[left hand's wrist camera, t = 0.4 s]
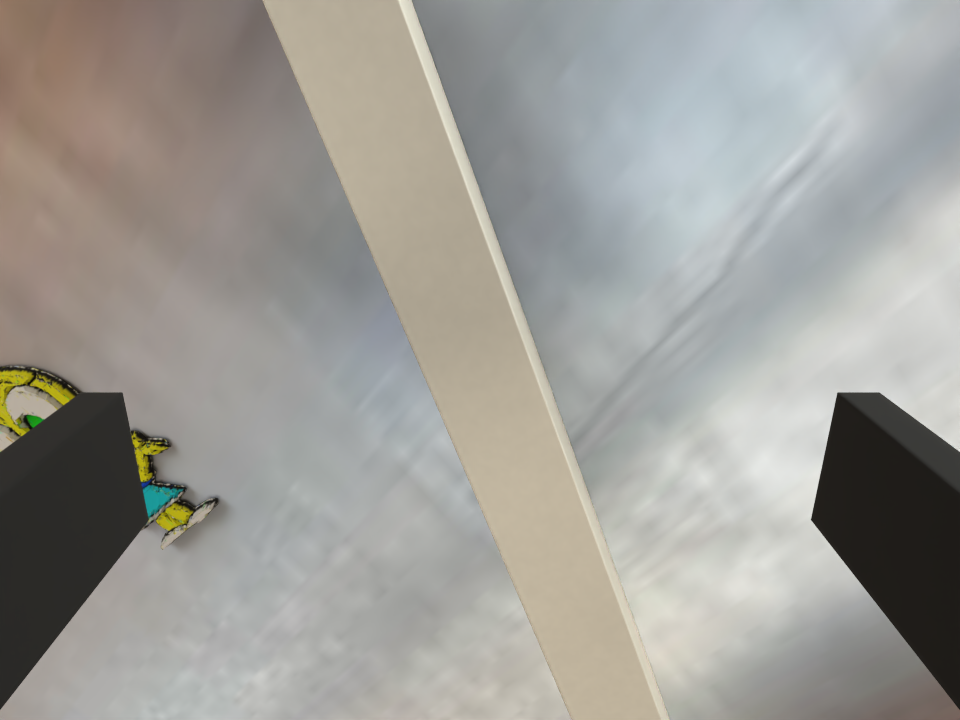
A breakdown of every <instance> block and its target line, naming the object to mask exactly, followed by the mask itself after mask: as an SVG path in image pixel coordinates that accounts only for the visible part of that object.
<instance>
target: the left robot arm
mask: <svg viewBox="0 0 960 720" xmlns="http://www.w3.org/2000/svg"><path fill="white" fill-rule="evenodd" d="M148 520H149V518H148V513H147V508H146V503H145V499H144V494H143V489H142V484H141V479H140V475H139V470H138V465H137V460H136V455H135V451H134V446H133V441H132V436H131V431H130V427H129V422H128V417H127V412H126V407H125V403H124V398H123V393H79V394H78V395H77V396H75V397H74V398H73V399H71V400H70V401H69V402H67V403H66V404H65V405H63V406H62V407H61V408H59V409H58V410H57V411H55V412H54V413H52V414H51V415H50V416H48V417H47V418H46V419H44V420H43V421H42V422H40V423H39V424H38V425H36V426H35V427H34V428H32V429H31V430H29V431H28V432H27V433H25V434H24V435H23V436H21V437H20V438H19V439H17V440H16V441H15V442H13V443H12V444H11V445H9V446H8V447H6V448H5V449H4V450H2V451H1V452H0V709H1V708H2V707H3V706H4V704H5V703H6V702H7V700H8V699H9V698H10V697H11V695H12V694H13V693H14V692H15V690H16V689H17V688H18V686H19V685H20V684H21V683H22V681H23V680H24V679H25V677H26V676H27V675H28V674H29V672H30V671H31V670H32V669H33V667H34V666H35V665H36V663H37V662H38V661H39V660H40V658H41V657H42V656H43V654H44V653H45V652H46V651H47V649H48V648H49V647H50V646H51V644H52V643H53V642H54V640H55V639H56V638H57V637H58V635H59V634H60V633H61V632H62V630H63V629H64V628H65V626H66V625H67V624H68V623H69V621H70V620H71V619H72V617H73V616H74V615H75V614H76V612H77V611H78V610H79V609H80V607H81V606H82V605H83V603H84V602H85V601H86V600H87V598H88V597H89V596H90V594H91V593H92V592H93V591H94V589H95V588H96V587H97V586H98V584H99V583H100V582H101V580H102V579H103V578H104V577H105V575H106V574H107V573H108V571H109V570H110V569H111V568H112V566H113V565H114V564H115V563H116V561H117V560H118V559H119V557H120V556H121V555H122V554H123V552H124V551H125V550H126V549H127V547H128V546H129V545H130V543H131V542H132V541H133V540H134V538H135V537H136V536H137V534H138V533H139V532H140V531H141V529H142V528H143V527H144V526H145V524H146V523H147V522H148ZM811 520H812V522H813V523H814V524H815V526H816V527H817V528H818V529H819V531H820V532H821V533H822V534H823V536H824V537H825V538H826V540H827V541H828V542H829V543H830V545H831V546H832V547H833V549H834V550H835V551H836V552H837V554H838V555H839V556H840V557H841V559H842V560H843V561H844V563H845V564H846V565H847V566H848V568H849V569H850V570H851V572H852V573H853V574H854V575H855V577H856V578H857V579H858V580H859V582H860V583H861V584H862V586H863V587H864V588H865V589H866V591H867V592H868V593H869V594H870V596H871V597H872V598H873V600H874V601H875V602H876V603H877V605H878V606H879V607H880V609H881V610H882V611H883V612H884V614H885V615H886V616H887V617H888V619H889V620H890V621H891V623H892V624H893V625H894V626H895V628H896V629H897V630H898V632H899V633H900V634H901V635H902V637H903V638H904V639H905V640H906V642H907V643H908V644H909V646H910V647H911V648H912V649H913V651H914V652H915V653H916V654H917V656H918V657H919V658H920V660H921V661H922V662H923V663H924V665H925V666H926V667H927V669H928V670H929V671H930V672H931V674H932V675H933V676H934V677H935V679H936V680H937V681H938V683H939V684H940V685H941V686H942V688H943V689H944V690H945V692H946V693H947V694H948V695H949V697H950V698H951V699H952V700H953V702H954V703H955V704H956V706H957V707H958V708H959V709H960V452H959V451H958V450H956V449H955V448H954V447H952V446H951V445H949V444H948V443H947V442H945V441H944V440H943V439H941V438H940V437H939V436H937V435H936V434H935V433H933V432H932V431H931V430H929V429H928V428H926V427H925V426H924V425H922V424H921V423H920V422H918V421H917V420H916V419H914V418H913V417H912V416H910V415H909V414H908V413H906V412H905V411H903V410H902V409H901V408H899V407H898V406H897V405H895V404H894V403H893V402H891V401H890V400H889V399H887V398H886V397H885V396H883V395H882V394H881V393H837V398H836V403H835V407H834V412H833V417H832V422H831V427H830V431H829V436H828V441H827V446H826V451H825V455H824V460H823V465H822V470H821V475H820V479H819V484H818V489H817V494H816V499H815V503H814V508H813V513H812V518H811Z"/></svg>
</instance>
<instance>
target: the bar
mask: <svg viewBox="0 0 960 720" xmlns="http://www.w3.org/2000/svg"><path fill="white" fill-rule="evenodd" d="M262 1H263V3H264V5H265V8H266V10H267V12H268V15H269V17H270V19H271V22H272V24H273V26H274V29H275V31H276V33H277V36H278V38H279V40H280V43H281V45H282V47H283V50H284V52H285V54H286V57H287V59H288V61H289V64H290V66H291V68H292V70H293V73H294V75H295V77H296V80H297V82H298V84H299V87H300V89H301V91H302V94H303V96H304V98H305V101H306V103H307V105H308V108H309V110H310V112H311V115H312V117H313V119H314V122H315V124H316V126H317V129H318V131H319V133H320V136H321V138H322V140H323V143H324V145H325V147H326V149H327V152H328V154H329V156H330V159H331V161H332V163H333V166H334V168H335V170H336V173H337V175H338V177H339V180H340V182H341V184H342V187H343V189H344V191H345V194H346V196H347V198H348V201H349V203H350V205H351V208H352V210H353V212H354V215H355V217H356V219H357V222H358V224H359V226H360V229H361V231H362V233H363V235H364V238H365V240H366V242H367V245H368V247H369V249H370V252H371V254H372V256H373V259H374V261H375V263H376V266H377V268H378V270H379V273H380V275H381V277H382V280H383V282H384V284H385V287H386V289H387V291H388V294H389V296H390V298H391V301H392V303H393V305H394V308H395V310H396V312H397V314H398V317H399V319H400V321H401V324H402V326H403V328H404V331H405V333H406V335H407V338H408V340H409V342H410V345H411V347H412V349H413V352H414V354H415V356H416V359H417V361H418V363H419V366H420V368H421V370H422V373H423V375H424V377H425V380H426V382H427V384H428V387H429V389H430V391H431V394H432V396H433V398H434V400H435V403H436V405H437V407H438V410H439V412H440V414H441V417H442V419H443V421H444V424H445V426H446V428H447V431H448V433H449V435H450V438H451V440H452V442H453V445H454V447H455V449H456V452H457V454H458V456H459V459H460V461H461V463H462V466H463V468H464V470H465V473H466V475H467V477H468V479H469V482H470V484H471V486H472V489H473V491H474V493H475V496H476V498H477V500H478V503H479V505H480V507H481V510H482V512H483V514H484V517H485V519H486V521H487V524H488V526H489V528H490V531H491V533H492V535H493V538H494V540H495V542H496V545H497V547H498V549H499V552H500V554H501V556H502V559H503V561H504V563H505V565H506V568H507V570H508V572H509V575H510V577H511V579H512V582H513V584H514V586H515V589H516V591H517V593H518V596H519V598H520V600H521V603H522V605H523V607H524V610H525V612H526V614H527V617H528V619H529V621H530V624H531V626H532V628H533V631H534V633H535V635H536V638H537V640H538V642H539V644H540V647H541V649H542V651H543V654H544V656H545V658H546V661H547V663H548V665H549V668H550V670H551V672H552V675H553V677H554V679H555V682H556V684H557V686H558V689H559V691H560V693H561V696H562V698H563V700H564V703H565V705H566V707H567V710H568V712H569V714H570V717H571V719H572V720H670V719H669V716H668V713H667V711H666V708H665V705H664V702H663V700H662V697H661V694H660V691H659V688H658V686H657V683H656V680H655V677H654V674H653V672H652V669H651V666H650V663H649V661H648V658H647V655H646V652H645V649H644V647H643V644H642V641H641V638H640V635H639V633H638V630H637V627H636V624H635V622H634V619H633V616H632V613H631V610H630V608H629V605H628V602H627V599H626V596H625V594H624V591H623V588H622V585H621V583H620V580H619V577H618V574H617V571H616V569H615V566H614V563H613V560H612V557H611V555H610V552H609V549H608V546H607V544H606V541H605V538H604V535H603V532H602V530H601V527H600V524H599V521H598V518H597V516H596V513H595V510H594V507H593V505H592V502H591V499H590V496H589V493H588V491H587V488H586V485H585V482H584V479H583V477H582V474H581V471H580V468H579V466H578V463H577V460H576V457H575V454H574V452H573V449H572V446H571V443H570V440H569V438H568V435H567V432H566V429H565V427H564V424H563V421H562V418H561V415H560V413H559V410H558V407H557V404H556V401H555V399H554V396H553V393H552V390H551V388H550V385H549V382H548V379H547V376H546V374H545V371H544V368H543V365H542V362H541V360H540V357H539V354H538V351H537V349H536V346H535V343H534V340H533V337H532V335H531V332H530V329H529V326H528V323H527V321H526V318H525V315H524V312H523V310H522V307H521V304H520V301H519V298H518V296H517V293H516V290H515V287H514V284H513V282H512V279H511V276H510V273H509V271H508V268H507V265H506V262H505V259H504V257H503V254H502V251H501V248H500V245H499V243H498V240H497V237H496V234H495V232H494V229H493V226H492V223H491V220H490V218H489V215H488V212H487V209H486V206H485V204H484V201H483V198H482V195H481V193H480V190H479V187H478V184H477V181H476V179H475V176H474V173H473V170H472V167H471V165H470V162H469V159H468V156H467V154H466V151H465V148H464V145H463V142H462V140H461V137H460V134H459V131H458V128H457V126H456V123H455V120H454V117H453V115H452V112H451V109H450V106H449V103H448V101H447V98H446V95H445V92H444V89H443V87H442V84H441V81H440V78H439V76H438V73H437V70H436V67H435V64H434V62H433V59H432V56H431V53H430V50H429V48H428V45H427V42H426V39H425V37H424V34H423V31H422V28H421V25H420V23H419V20H418V17H417V14H416V11H415V9H414V6H413V3H412V0H262Z"/></svg>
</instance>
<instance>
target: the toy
mask: <svg viewBox="0 0 960 720" xmlns="http://www.w3.org/2000/svg"><path fill="white" fill-rule="evenodd" d="M4 375H5V376H4ZM9 376H10V377H11V378H10V377H9ZM12 376H13V378H12ZM22 377H23V378H24V379H23V378H22ZM7 378H8V379H9V381H8V379H7ZM3 380H4V381H3ZM18 381H19V382H18ZM39 381H41V382H39ZM14 382H15V384H14ZM21 383H22V384H23V385H22V384H21ZM7 386H8V387H7ZM6 387H7V388H6ZM5 388H6V389H5ZM55 388H57V390H58V391H57V390H56V389H55ZM18 390H19V391H18ZM16 391H18V392H16ZM21 391H22V392H24V393H22V392H21ZM4 392H5V393H4ZM19 392H20V393H21V394H20V393H19ZM60 392H61V393H60ZM25 393H26V394H25ZM30 393H31V395H32V396H31V395H30ZM62 394H63V395H64V396H63V395H62ZM78 394H79V393H78V392H77V391H75V390H74V389H73V388H72V387H71V386H70V385H68V384H67V383H65V382H64V381H62V380H61V379H59V378H57V377H55V376H54V375H51V374H49V373H47V372H44V371H41V370H38V369H35V368H32V367H28V368H27V367H23V366H21V367H19V366H14V367H12V366H6V367H0V397H1V398H0V452H1V451H2V450H4V449H5V448H6V447H8V446H9V445H11V444H12V443H13V442H15V441H16V440H17V439H19V438H20V437H21V436H23V435H24V434H25V433H27V432H28V431H29V430H31V429H32V428H34V427H35V426H36V425H38V424H39V423H40V422H42V421H43V420H44V419H46V418H47V417H48V416H50V415H51V414H52V413H54V412H55V411H57V410H58V409H59V408H61V407H62V406H63V405H65V404H66V403H67V402H69V400H71V399H73V398H74V397H75V396H77V395H78ZM35 395H36V396H37V397H38V396H39V397H38V398H37V397H36V396H35ZM2 396H3V397H2ZM50 403H51V404H50ZM6 410H7V411H6ZM22 413H23V415H21V414H22ZM31 415H32V416H31ZM3 422H4V423H3ZM13 423H15V424H16V425H15V424H13ZM17 426H18V427H19V428H21V429H19V428H18V427H17ZM7 435H8V436H9V437H8V436H7ZM131 436H132V441H133V446H134V448H135V455H136V460H137V464H138V470H139V475H140V479H141V484H142V489H143V494H144V499H145V503H146V508H147V513H148V518H149V520H148V522H147V523H146V524H145V526H144V527H143V528H142V529H141V530H143V529H145V528H146V527H148V526H149V524H150V523H152V522H153V521H154V519H156V522H157V523H158V524H159V525H160V526H161V527H162V528H165V530H167V531H168V532H166V533H165V535H164V537H163V539H162V543H161V549H162V550H163V549H164V548H166V547H167V546H169V545H170V544H171V543H172V542H173V541H174V540H176V539H177V538H178V537H179V536H180V535H181V534H183V533H184V532H185V531H186V530H187V529H188V528H190V527H191V526H193V525H195V524H196V523H199V521H202V520H203V519H204V517H205V516H207V515H208V514H209V513H210V512H211V510H212V509H213V508H215V507H216V506H217V505H218V504H219V502H218V499H217V498H214V499H212V498H211V499H208V500H206V501H204V502H203V503H201V504H200V505H198V506H197V507H196V508H194V507H193V506H191V505H190V504H188V503H186V502H183V501H180V500H179V499H180V498H181V497H182V496H183V494H184V493H185V492H186V488H185V487H184V486H176V485H172V484H162V483H153V482H154V481H155V478H154V476H155V473H156V471H155V470H154V469H153V467H152V459H151V456H150V454H152V455H155V454H159V453H162V452H164V451H165V450H166V449H169V448H170V447H171V446H170V445H169V444H168V443H169V442H167V441H166V440H165V439H163V438H146V437H145V436H143V435H142V434H141V433H140V432H138V431H133V430H132V431H131ZM10 437H11V438H12V439H13V440H14V441H13V440H12V439H11V438H10ZM139 450H142V451H139ZM142 453H143V454H142ZM141 457H142V458H143V460H142V458H141ZM144 466H145V467H144ZM141 470H142V471H141ZM144 474H146V475H144ZM147 479H148V480H147ZM158 490H159V492H160V493H159V492H158ZM165 493H166V494H165ZM166 501H167V502H166ZM174 508H175V509H176V510H175V509H174ZM154 509H155V510H154ZM179 509H180V510H179ZM162 516H163V517H162ZM186 517H187V518H186ZM167 518H168V519H167ZM166 519H167V520H166ZM180 520H181V521H180ZM197 520H198V521H197ZM196 521H197V522H196Z"/></svg>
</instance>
